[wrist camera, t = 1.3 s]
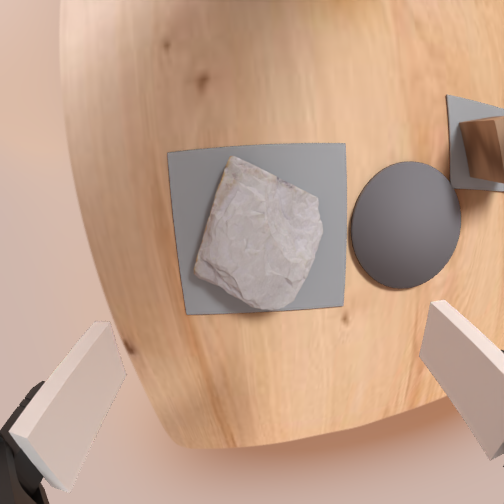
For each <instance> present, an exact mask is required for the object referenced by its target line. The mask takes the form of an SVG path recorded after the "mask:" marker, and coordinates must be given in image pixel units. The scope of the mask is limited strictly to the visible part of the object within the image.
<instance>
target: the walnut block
mask: <svg viewBox="0 0 504 504" xmlns="http://www.w3.org/2000/svg"><path fill="white" fill-rule="evenodd" d="M459 126H460V130H461V134H462V138H463V142H464V147H465V152H466V157H467V162H468V167H469V173H470V177H472V178H478V179H483V180H488V181H494V182H498V183H503V184H504V116H496V117H488V118H482V119H476V120H470V121H464V122H459Z"/></svg>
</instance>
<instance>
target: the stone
mask: <svg viewBox="0 0 504 504" xmlns="http://www.w3.org/2000/svg"><path fill="white" fill-rule="evenodd" d="M318 206H319V201H318V198H317V197H315V196H314V195H312V194H310V193H308V192H306V191H304V190H302V189H300V188H298V187H296V186H294V185H292V184H290V183H288V182H286V181H284V180H282V179H280V178H278V177H277V176H275V175H273V174H271V173H269V172H267V171H265V170H262V169H261V168H259V167H257V166H255V165H253V164H251V163H248V162H246V161H244V160H242V159H240V158H238V157H235V156H230V157H229V159H228V161H227V164H226V166H225V169H224V172H223V175H222V178H221V181H220V183H219V186H218V189H217V191H216V194H215V199H214V203H213V206H212V209H211V212H210V216H209V218H208V221H207V225H206V228H205V232H204V235H203V240H202V243H201V246H200V249H199V252H198V255H197V259H196V263H195V266H194V274H195V275H196V276H197V277H198V278H199V279H202V280H205V281H207V282H210V283H212V284H215V285H217V286H220V287H222V288H223V289H224V290H225V291H226V292H227V293H228V294H230V295H233V296H234V297H236V298H239V299H241V300H242V301H244V302H245V303H247V304H248V305H250V306H251V307H254V308H259V309H262V310H265V309H268V310H277V309H280V308H283V307H285V306H286V305H288V304H289V303H291V302H293V301H294V300H295V297H296V295H297V293H298V292H299V290H300V288H301V286H302V284H303V283H304V281H305V280H306V278H307V276H308V274H309V270H310V269H311V266H312V264H313V262H314V259H315V253H316V251H317V250H318V246H319V242H320V240H321V237H322V235H323V225H322V222H321V220H320V214H319V211H318Z"/></svg>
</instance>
